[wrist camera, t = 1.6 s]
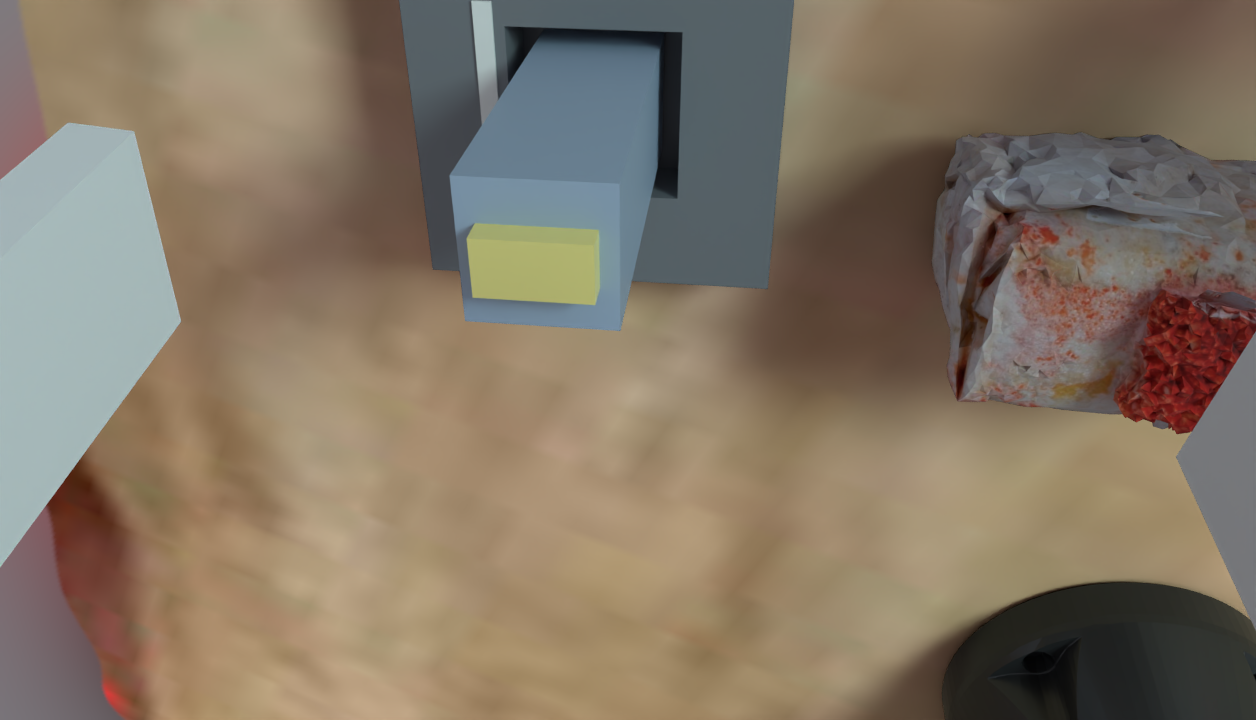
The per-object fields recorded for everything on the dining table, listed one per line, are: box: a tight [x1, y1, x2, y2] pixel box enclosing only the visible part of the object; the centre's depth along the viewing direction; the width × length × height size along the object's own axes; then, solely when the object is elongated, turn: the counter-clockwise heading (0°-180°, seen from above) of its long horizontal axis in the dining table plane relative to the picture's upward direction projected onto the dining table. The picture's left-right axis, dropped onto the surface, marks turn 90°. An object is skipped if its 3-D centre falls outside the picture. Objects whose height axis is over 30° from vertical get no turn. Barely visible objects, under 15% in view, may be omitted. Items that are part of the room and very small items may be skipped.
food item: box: [932, 132, 1256, 434], centre depth 31 cm, size 14×8×10 cm, turn 90°
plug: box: [449, 29, 664, 331], centre depth 29 cm, size 4×4×13 cm
